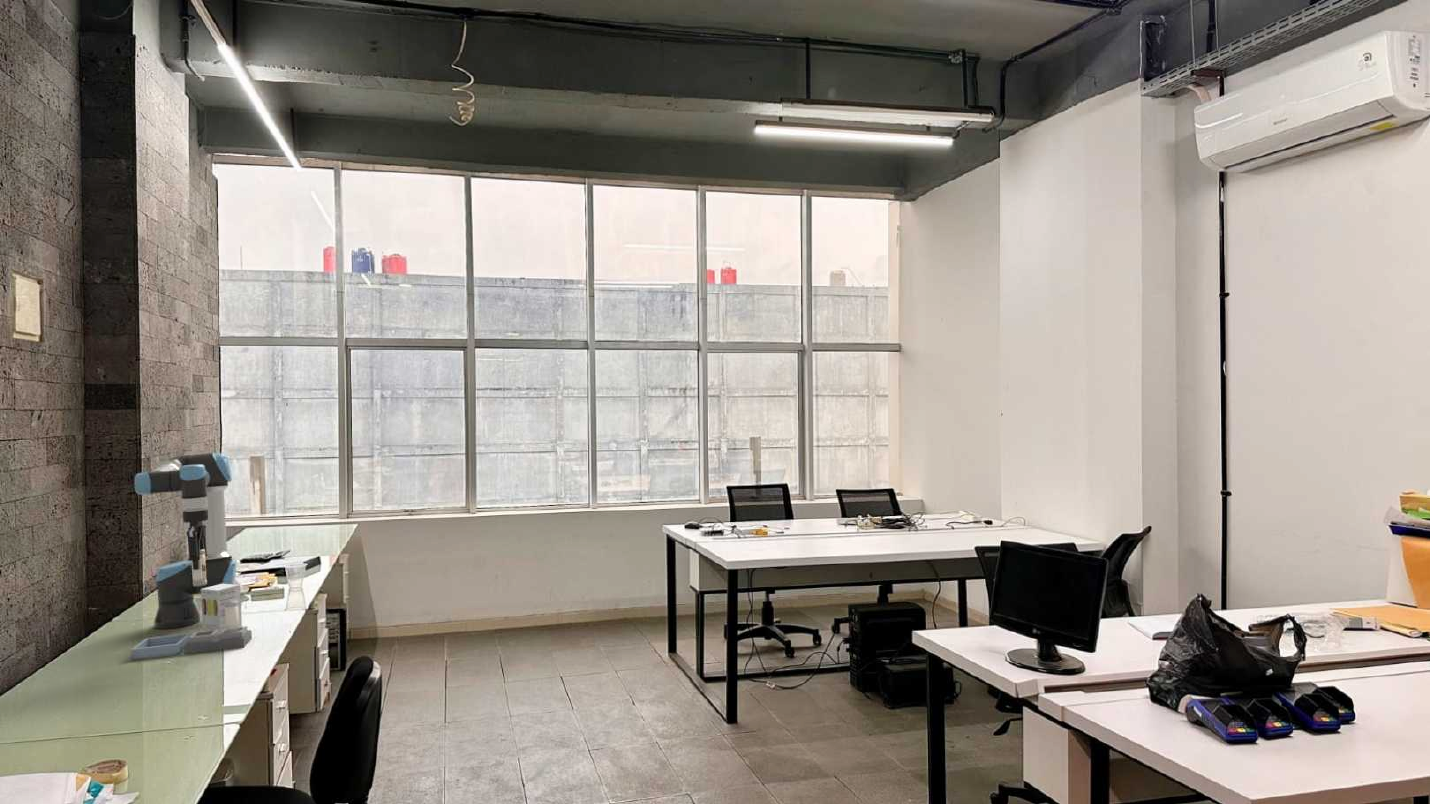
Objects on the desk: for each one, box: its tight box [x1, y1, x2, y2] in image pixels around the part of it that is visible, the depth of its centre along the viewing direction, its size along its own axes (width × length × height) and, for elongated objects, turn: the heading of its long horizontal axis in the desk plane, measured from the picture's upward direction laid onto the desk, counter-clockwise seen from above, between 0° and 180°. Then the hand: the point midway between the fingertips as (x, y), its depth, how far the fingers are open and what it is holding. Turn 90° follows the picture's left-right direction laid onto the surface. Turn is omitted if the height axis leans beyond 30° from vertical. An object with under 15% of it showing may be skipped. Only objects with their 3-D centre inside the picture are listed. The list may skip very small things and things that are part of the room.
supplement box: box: [200, 584, 243, 633], centre depth 321 cm, size 10×9×17 cm
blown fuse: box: [193, 549, 207, 586], centre depth 300 cm, size 4×4×12 cm
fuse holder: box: [184, 600, 253, 655], centre depth 302 cm, size 11×18×15 cm, turn 106°
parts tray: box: [130, 633, 192, 661], centre depth 299 cm, size 14×14×4 cm
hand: (199, 577), depth 300 cm, fingers closed on blown fuse, 4 cm apart
